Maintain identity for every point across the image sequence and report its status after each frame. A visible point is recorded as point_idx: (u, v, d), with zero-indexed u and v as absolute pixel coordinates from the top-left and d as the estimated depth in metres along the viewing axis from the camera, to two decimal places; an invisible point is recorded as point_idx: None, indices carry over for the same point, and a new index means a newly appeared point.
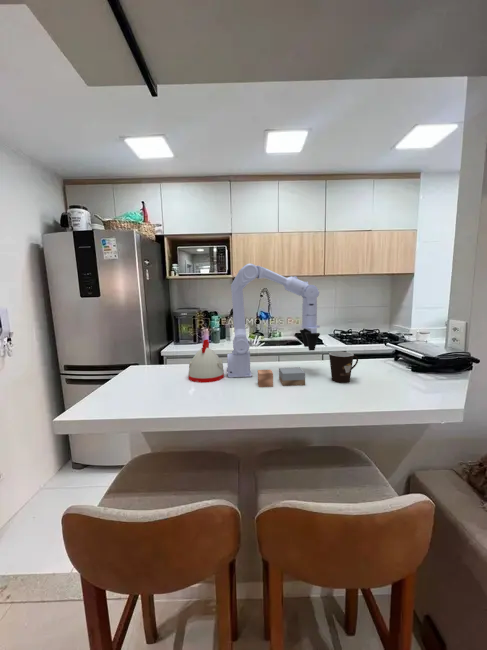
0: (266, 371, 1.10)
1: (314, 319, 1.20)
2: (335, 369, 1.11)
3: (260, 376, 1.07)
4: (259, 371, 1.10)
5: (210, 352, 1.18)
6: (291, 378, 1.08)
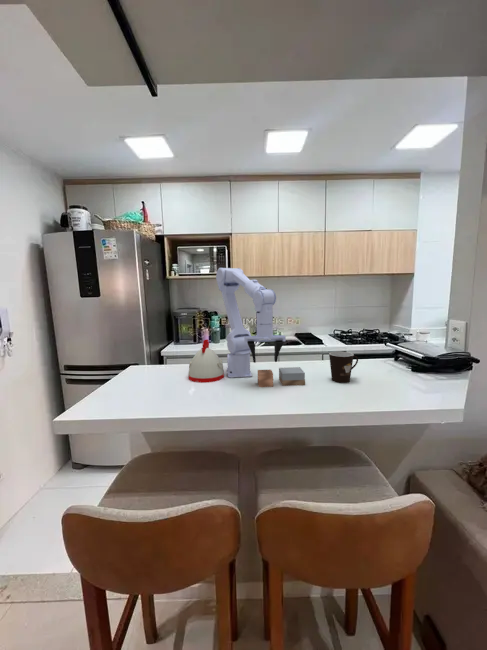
0: (266, 371, 1.10)
1: (258, 329, 1.07)
2: (335, 369, 1.11)
3: (260, 376, 1.07)
4: (259, 371, 1.10)
5: (210, 352, 1.18)
6: (291, 378, 1.09)
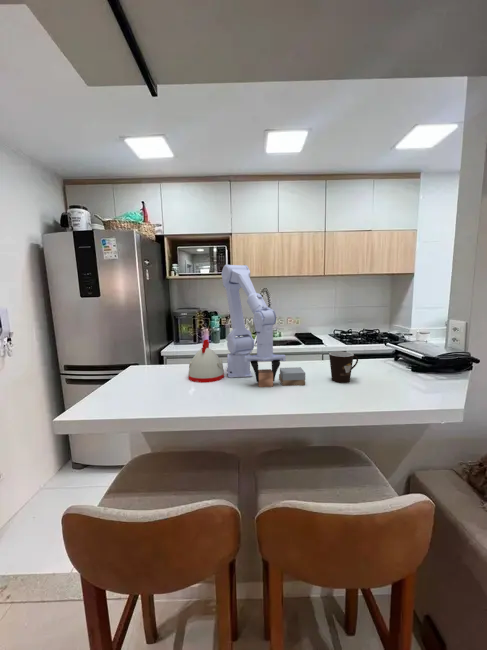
0: (266, 371, 1.10)
1: (258, 349, 1.07)
2: (335, 369, 1.11)
3: (260, 376, 1.07)
4: (259, 371, 1.10)
5: (210, 352, 1.18)
6: (291, 378, 1.09)
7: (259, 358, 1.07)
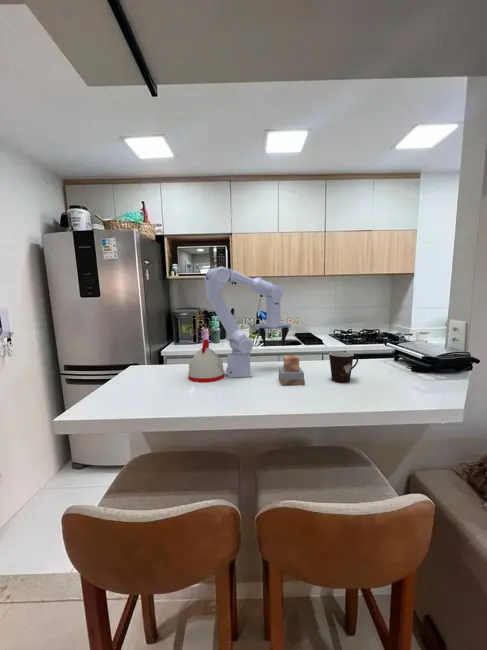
0: (292, 356, 1.12)
1: (267, 317, 1.26)
2: (335, 369, 1.11)
3: (286, 361, 1.09)
4: (285, 356, 1.12)
5: (210, 352, 1.18)
6: (290, 378, 1.09)
7: (268, 325, 1.26)
